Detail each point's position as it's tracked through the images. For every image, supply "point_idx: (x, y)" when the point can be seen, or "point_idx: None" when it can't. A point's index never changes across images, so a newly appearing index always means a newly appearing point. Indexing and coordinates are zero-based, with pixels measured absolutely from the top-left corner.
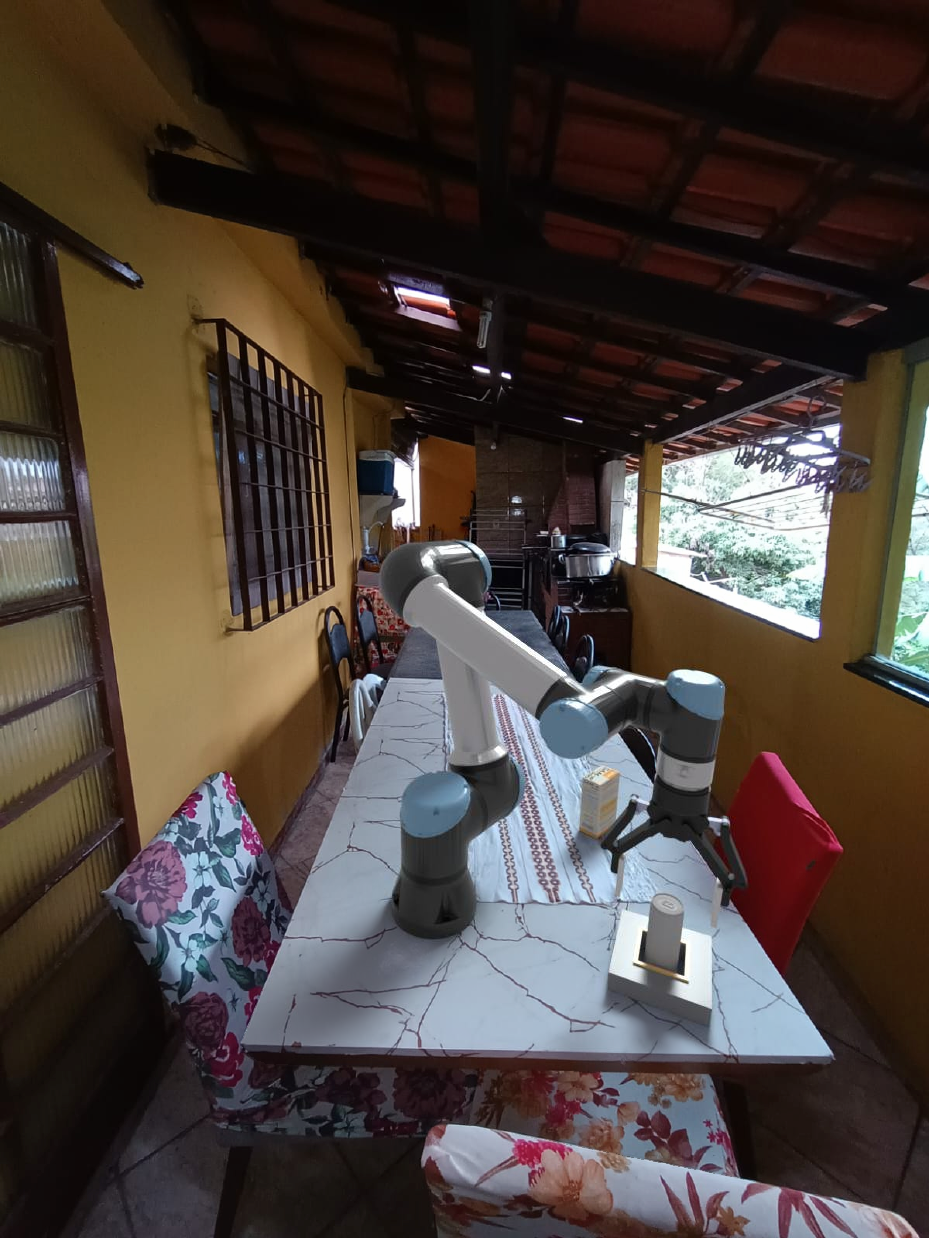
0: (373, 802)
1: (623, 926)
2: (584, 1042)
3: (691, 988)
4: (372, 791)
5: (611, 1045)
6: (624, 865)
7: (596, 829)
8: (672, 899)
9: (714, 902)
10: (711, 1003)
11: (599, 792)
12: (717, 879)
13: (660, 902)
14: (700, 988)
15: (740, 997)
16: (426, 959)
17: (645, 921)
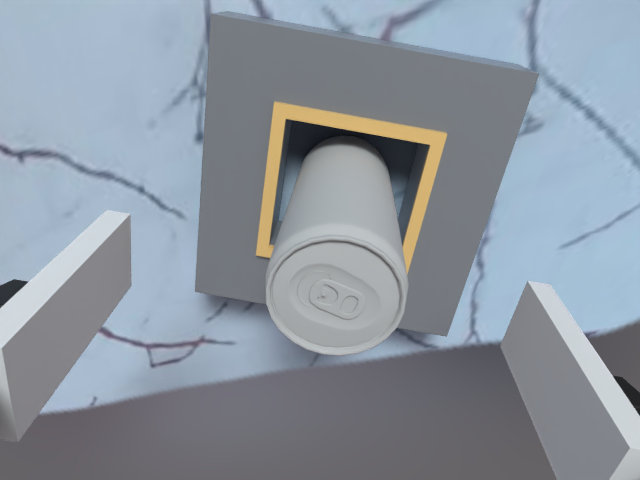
0: None
1: (222, 110)
2: (181, 380)
3: (408, 292)
4: None
5: (231, 376)
6: (63, 308)
7: None
8: (362, 265)
9: (540, 433)
10: (449, 323)
11: None
12: (616, 470)
13: (304, 292)
14: (433, 288)
15: (549, 213)
16: None
17: (299, 60)
